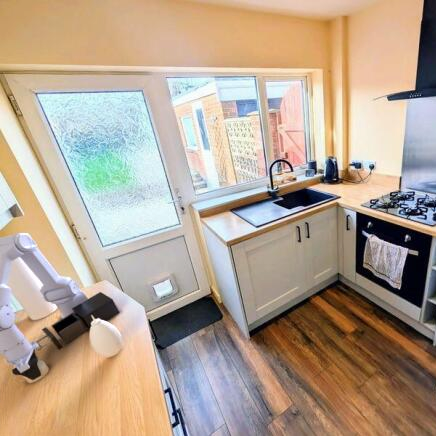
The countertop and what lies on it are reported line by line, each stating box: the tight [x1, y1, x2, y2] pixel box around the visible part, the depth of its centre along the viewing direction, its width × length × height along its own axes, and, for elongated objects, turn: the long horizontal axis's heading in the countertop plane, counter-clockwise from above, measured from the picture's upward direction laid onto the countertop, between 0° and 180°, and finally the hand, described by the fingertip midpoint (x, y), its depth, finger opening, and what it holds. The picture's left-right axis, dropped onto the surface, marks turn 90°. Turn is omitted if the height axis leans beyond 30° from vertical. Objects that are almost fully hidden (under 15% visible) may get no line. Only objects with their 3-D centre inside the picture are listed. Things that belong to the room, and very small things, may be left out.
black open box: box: [30, 313, 89, 352], centre depth 92 cm, size 14×9×6 cm
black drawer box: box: [72, 291, 120, 331], centre depth 101 cm, size 11×11×8 cm
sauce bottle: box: [89, 316, 123, 358], centre depth 82 cm, size 8×8×18 cm
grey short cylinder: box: [22, 360, 50, 384], centre depth 81 cm, size 5×5×3 cm
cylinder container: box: [6, 257, 58, 321], centre depth 103 cm, size 9×9×30 cm
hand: (35, 371), depth 81 cm, fingers closed on grey short cylinder, 5 cm apart
